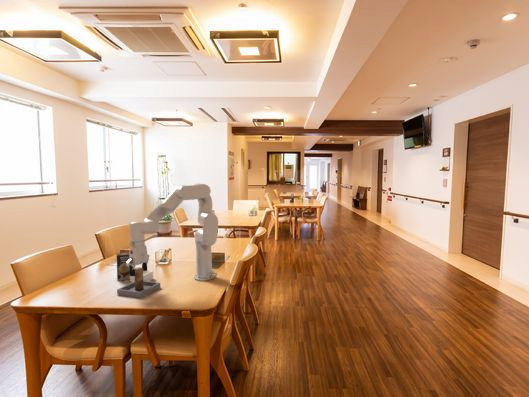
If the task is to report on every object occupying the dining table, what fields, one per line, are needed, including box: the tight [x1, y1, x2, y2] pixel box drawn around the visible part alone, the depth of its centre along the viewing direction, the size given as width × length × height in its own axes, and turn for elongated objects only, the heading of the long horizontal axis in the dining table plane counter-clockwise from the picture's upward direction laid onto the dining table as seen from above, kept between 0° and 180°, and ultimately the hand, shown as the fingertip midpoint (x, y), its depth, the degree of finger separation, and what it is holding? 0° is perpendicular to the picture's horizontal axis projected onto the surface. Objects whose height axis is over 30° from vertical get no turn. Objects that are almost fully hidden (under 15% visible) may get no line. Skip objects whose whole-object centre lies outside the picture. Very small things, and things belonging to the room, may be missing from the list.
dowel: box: [134, 266, 144, 291], centre depth 171 cm, size 4×4×12 cm
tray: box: [116, 280, 161, 299], centre depth 171 cm, size 16×16×3 cm
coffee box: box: [115, 252, 133, 282], centre depth 192 cm, size 9×6×16 cm
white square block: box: [129, 269, 154, 283], centre depth 189 cm, size 10×10×5 cm
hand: (138, 273), depth 170 cm, fingers open, 9 cm apart
